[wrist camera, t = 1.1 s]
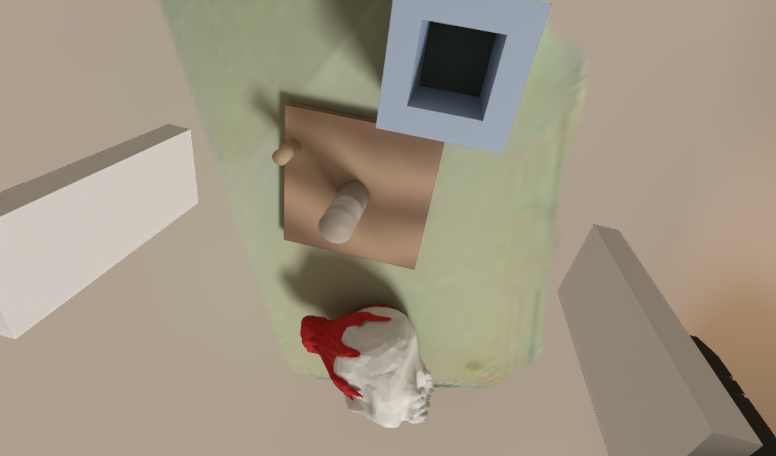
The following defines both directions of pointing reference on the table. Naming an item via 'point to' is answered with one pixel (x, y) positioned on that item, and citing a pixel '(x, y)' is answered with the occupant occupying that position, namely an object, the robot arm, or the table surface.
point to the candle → (373, 363)
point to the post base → (366, 163)
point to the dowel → (286, 152)
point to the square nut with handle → (450, 109)
